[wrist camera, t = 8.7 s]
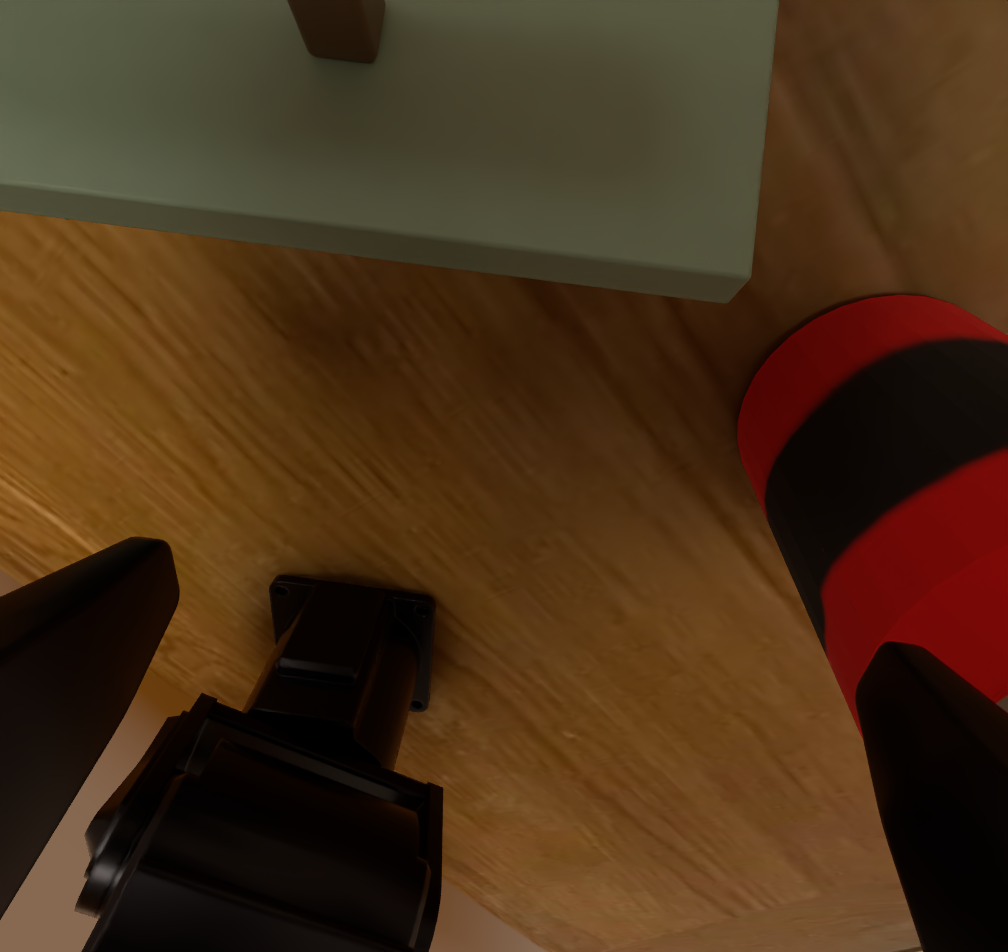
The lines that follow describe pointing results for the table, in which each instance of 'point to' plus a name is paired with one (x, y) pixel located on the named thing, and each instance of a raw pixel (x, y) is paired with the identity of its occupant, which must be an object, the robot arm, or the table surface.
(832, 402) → the soda can
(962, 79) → the table surface
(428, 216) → the lid
